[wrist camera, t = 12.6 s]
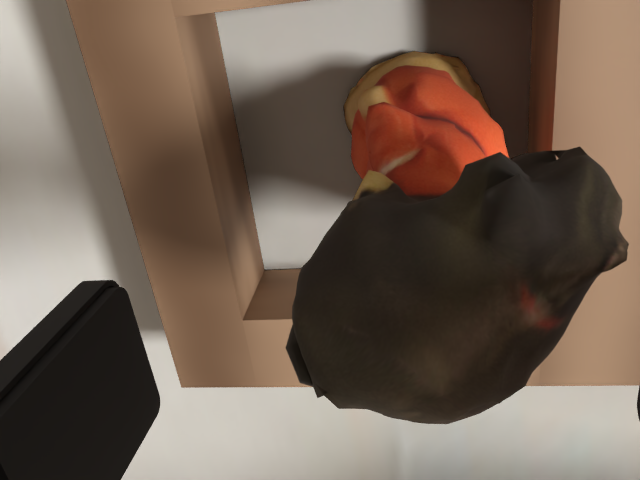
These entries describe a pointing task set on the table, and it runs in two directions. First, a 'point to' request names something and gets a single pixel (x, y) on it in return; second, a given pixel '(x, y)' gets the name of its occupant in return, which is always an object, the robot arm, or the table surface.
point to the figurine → (446, 252)
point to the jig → (235, 203)
